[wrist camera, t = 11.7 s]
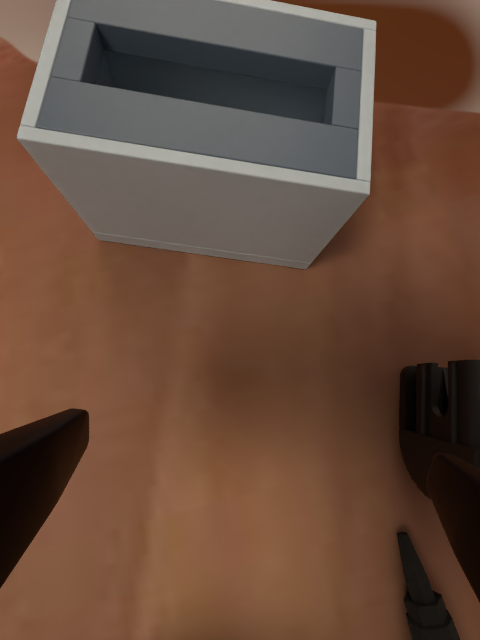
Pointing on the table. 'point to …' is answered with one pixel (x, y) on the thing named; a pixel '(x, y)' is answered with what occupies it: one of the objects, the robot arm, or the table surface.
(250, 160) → the grey hollow block
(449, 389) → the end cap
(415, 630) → the microphone
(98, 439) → the table surface
